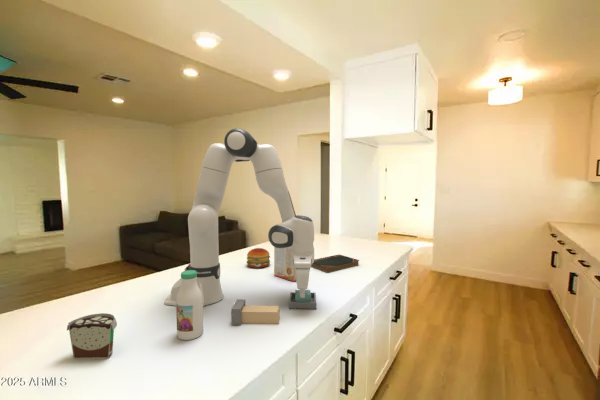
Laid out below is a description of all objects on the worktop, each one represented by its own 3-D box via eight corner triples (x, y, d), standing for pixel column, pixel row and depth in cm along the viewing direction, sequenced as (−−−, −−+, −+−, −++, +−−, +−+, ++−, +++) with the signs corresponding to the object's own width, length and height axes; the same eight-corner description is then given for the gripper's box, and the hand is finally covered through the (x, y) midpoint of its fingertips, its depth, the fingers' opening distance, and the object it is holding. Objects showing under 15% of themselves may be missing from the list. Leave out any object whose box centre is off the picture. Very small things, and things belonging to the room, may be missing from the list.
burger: (244, 269, 160) (243, 251, 159) (249, 262, 173) (249, 245, 173) (268, 269, 159) (268, 251, 159) (271, 262, 173) (271, 245, 172)
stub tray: (289, 309, 110) (289, 302, 110) (290, 298, 120) (290, 292, 120) (316, 309, 110) (316, 302, 109) (315, 298, 120) (315, 292, 120)
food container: (127, 345, 85) (125, 312, 85) (114, 358, 79) (113, 322, 79) (84, 346, 85) (82, 312, 84) (68, 358, 79) (66, 323, 78)
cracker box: (302, 279, 143) (302, 237, 142) (293, 282, 139) (293, 238, 137) (282, 273, 153) (282, 233, 151) (273, 275, 148) (273, 235, 147)
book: (326, 274, 152) (359, 266, 167) (326, 267, 152) (359, 260, 167) (306, 266, 167) (338, 259, 181) (306, 260, 166) (338, 253, 181)
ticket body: (230, 325, 97) (229, 308, 97) (235, 314, 105) (235, 299, 105) (277, 325, 97) (277, 309, 97) (280, 314, 105) (280, 299, 105)
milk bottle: (194, 325, 97) (193, 266, 96) (208, 333, 92) (206, 271, 91) (172, 335, 91) (170, 272, 90) (185, 343, 86) (183, 277, 85)
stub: (295, 305, 112) (295, 294, 112) (295, 299, 117) (295, 289, 117) (310, 304, 112) (310, 294, 112) (310, 299, 117) (310, 289, 117)
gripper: (295, 251, 124) (295, 282, 125) (293, 264, 104) (293, 302, 104) (310, 251, 124) (310, 283, 125) (311, 264, 103) (311, 302, 104)
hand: (302, 292), depth 114 cm, fingers open, 8 cm apart
